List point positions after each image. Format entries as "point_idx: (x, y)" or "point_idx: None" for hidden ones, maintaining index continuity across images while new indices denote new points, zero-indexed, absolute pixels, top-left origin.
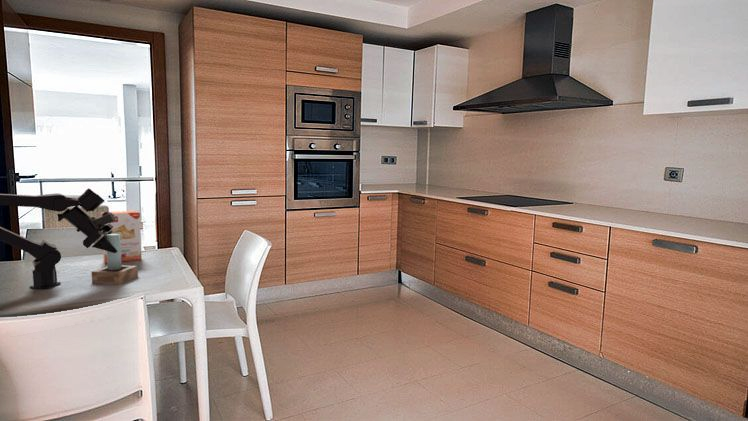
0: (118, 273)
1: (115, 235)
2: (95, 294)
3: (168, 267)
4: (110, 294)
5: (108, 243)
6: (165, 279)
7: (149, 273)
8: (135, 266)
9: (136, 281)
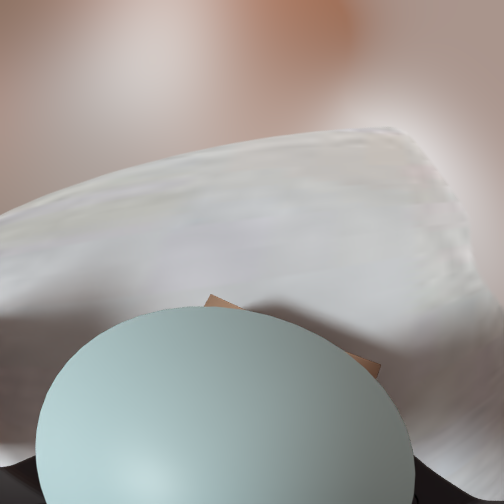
0: (379, 366)
1: (347, 415)
2: (475, 410)
3: (112, 211)
4: (481, 354)
5: (426, 473)
6: (305, 196)
7: (180, 268)
8: (223, 302)
9: (320, 303)
